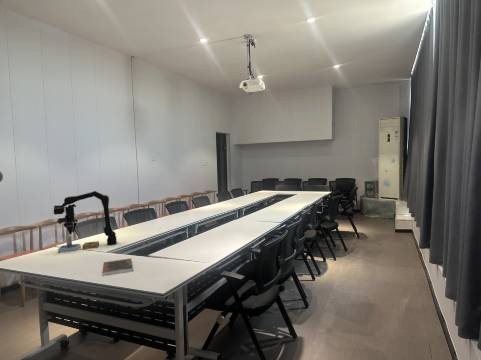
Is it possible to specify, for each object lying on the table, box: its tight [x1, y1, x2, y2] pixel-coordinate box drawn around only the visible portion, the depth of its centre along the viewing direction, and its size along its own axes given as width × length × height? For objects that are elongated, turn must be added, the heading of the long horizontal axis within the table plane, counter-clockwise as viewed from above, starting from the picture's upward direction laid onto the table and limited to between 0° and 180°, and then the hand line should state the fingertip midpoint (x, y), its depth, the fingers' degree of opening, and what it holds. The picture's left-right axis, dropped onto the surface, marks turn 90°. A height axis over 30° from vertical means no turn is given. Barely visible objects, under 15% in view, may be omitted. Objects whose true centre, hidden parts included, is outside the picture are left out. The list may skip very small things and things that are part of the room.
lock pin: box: [65, 235, 73, 248], centre depth 238 cm, size 4×4×10 cm
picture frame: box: [101, 258, 134, 277], centre depth 192 cm, size 16×2×22 cm
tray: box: [57, 243, 82, 254], centre depth 239 cm, size 13×11×3 cm
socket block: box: [82, 240, 100, 251], centre depth 243 cm, size 10×10×4 cm
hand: (71, 233), depth 240 cm, fingers open, 9 cm apart
